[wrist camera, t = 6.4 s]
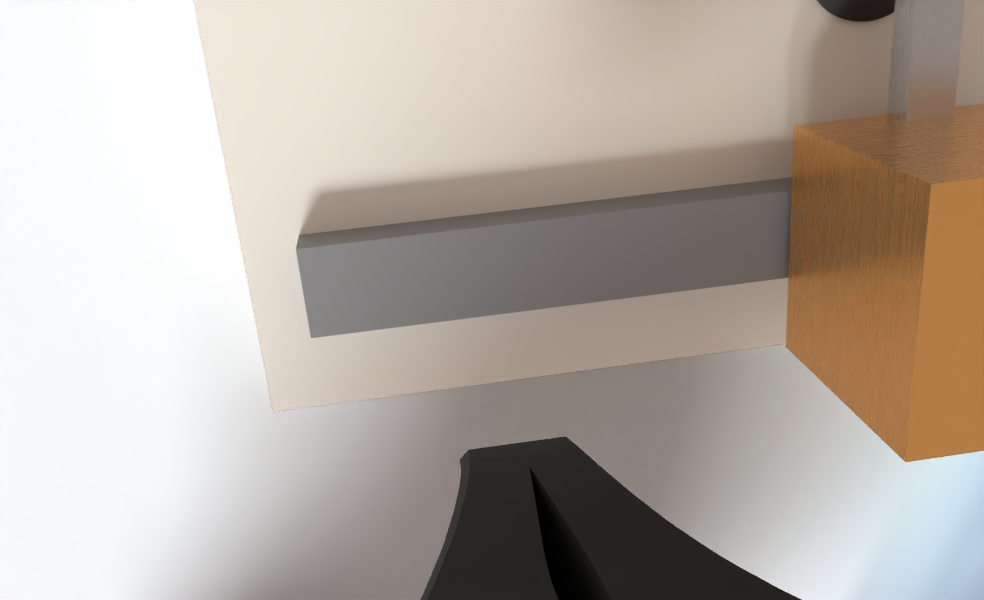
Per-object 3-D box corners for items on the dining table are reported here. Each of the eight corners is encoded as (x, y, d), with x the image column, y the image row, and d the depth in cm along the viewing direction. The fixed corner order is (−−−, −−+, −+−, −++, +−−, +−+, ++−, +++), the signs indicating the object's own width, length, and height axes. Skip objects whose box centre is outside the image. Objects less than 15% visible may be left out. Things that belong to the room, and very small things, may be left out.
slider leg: (769, 331, 17) (905, 461, 13) (782, -71, 15) (955, -76, 10) (972, 304, 18) (1170, 423, 13) (1017, -93, 15) (1281, -107, 11)
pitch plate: (278, 383, 18) (238, 592, 12) (184, -119, 15) (68, -157, 9) (1304, 249, 20) (1686, 375, 14) (1422, -222, 17) (1983, -308, 11)
